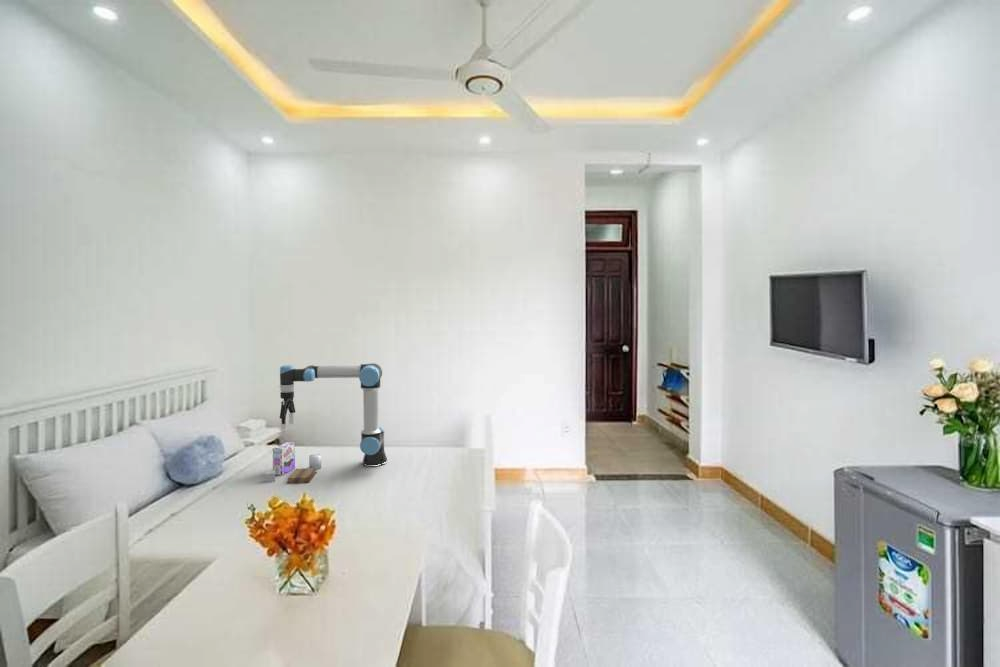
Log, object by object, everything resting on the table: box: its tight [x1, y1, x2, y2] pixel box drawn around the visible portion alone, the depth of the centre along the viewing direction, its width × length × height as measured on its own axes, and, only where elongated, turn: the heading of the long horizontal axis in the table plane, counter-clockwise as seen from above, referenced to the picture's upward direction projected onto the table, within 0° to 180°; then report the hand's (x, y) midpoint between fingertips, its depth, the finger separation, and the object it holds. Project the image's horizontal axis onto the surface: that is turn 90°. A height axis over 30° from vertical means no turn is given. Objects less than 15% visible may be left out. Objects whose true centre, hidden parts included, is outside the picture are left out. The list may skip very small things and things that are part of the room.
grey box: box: [264, 470, 276, 484], centre depth 293 cm, size 5×5×5 cm
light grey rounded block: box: [308, 453, 322, 471], centre depth 314 cm, size 7×7×8 cm
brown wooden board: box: [286, 467, 318, 484], centre depth 297 cm, size 12×17×3 cm
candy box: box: [272, 441, 296, 477], centre depth 307 cm, size 14×6×16 cm, turn 168°
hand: (287, 426), depth 306 cm, fingers open, 13 cm apart
